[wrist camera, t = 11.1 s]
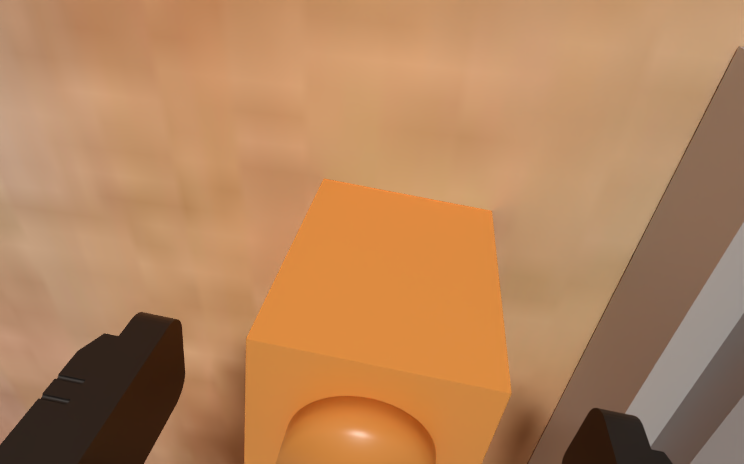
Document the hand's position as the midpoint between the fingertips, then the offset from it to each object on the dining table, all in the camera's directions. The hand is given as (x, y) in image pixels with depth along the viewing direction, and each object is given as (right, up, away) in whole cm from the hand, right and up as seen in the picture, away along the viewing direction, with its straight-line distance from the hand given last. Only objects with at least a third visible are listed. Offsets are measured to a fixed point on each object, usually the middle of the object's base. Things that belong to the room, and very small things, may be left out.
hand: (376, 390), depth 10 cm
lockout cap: (+1, +2, +5) cm, 5 cm away
